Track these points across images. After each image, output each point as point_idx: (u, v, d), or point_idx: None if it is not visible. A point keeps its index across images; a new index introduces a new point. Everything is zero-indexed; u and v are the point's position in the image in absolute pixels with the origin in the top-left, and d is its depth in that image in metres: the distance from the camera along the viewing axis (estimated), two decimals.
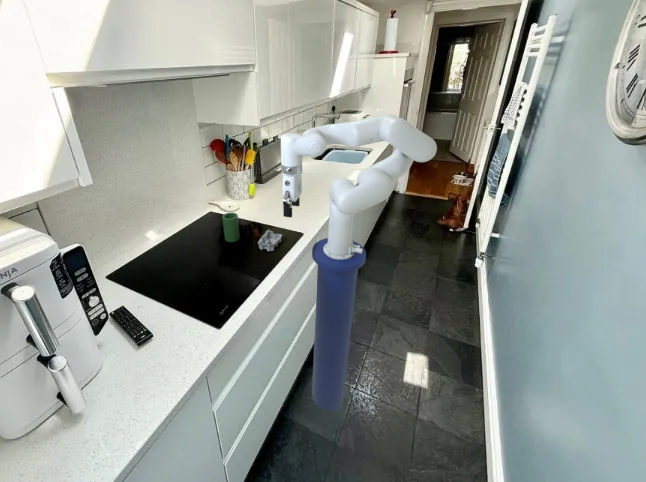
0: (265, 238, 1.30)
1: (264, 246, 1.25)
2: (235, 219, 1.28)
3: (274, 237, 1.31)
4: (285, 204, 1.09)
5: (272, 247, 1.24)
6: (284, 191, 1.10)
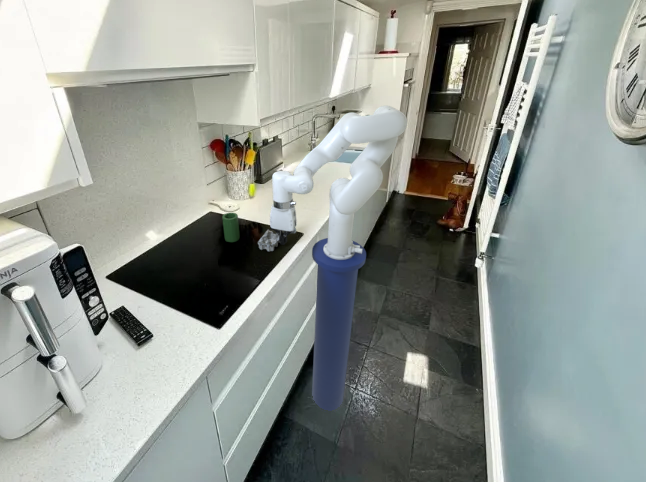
0: (265, 238, 1.30)
1: (264, 246, 1.25)
2: (235, 219, 1.28)
3: (274, 237, 1.31)
4: None
5: (272, 247, 1.24)
6: (294, 222, 1.19)
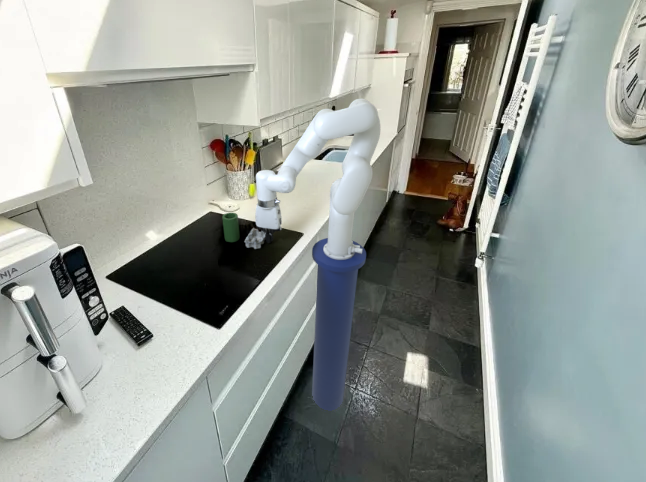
0: (251, 236, 1.32)
1: (251, 244, 1.27)
2: (235, 219, 1.28)
3: (259, 235, 1.33)
4: None
5: (259, 245, 1.26)
6: (278, 220, 1.21)
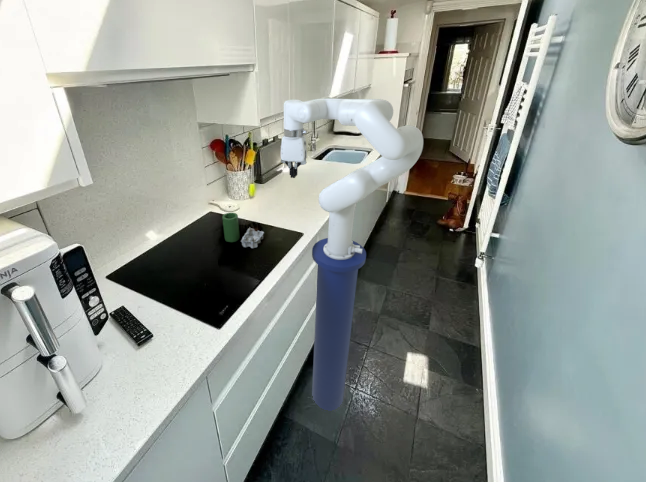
0: (247, 236, 1.32)
1: (247, 244, 1.27)
2: (235, 219, 1.28)
3: (256, 234, 1.34)
4: None
5: (256, 244, 1.26)
6: (304, 152, 1.21)
